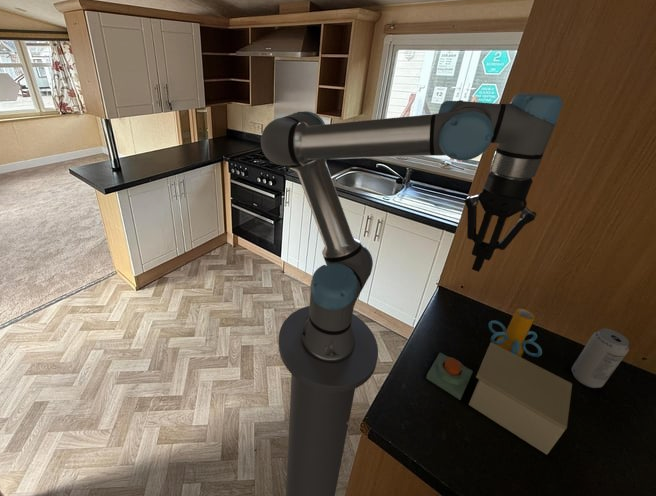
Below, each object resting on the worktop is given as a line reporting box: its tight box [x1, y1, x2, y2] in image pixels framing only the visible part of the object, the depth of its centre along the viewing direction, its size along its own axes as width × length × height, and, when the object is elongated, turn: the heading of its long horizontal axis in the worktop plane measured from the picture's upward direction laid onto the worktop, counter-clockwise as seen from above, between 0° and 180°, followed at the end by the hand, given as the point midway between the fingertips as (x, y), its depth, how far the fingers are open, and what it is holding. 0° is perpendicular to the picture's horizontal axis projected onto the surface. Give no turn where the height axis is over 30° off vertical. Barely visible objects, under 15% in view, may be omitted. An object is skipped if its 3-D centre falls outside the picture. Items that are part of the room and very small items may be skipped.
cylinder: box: [487, 307, 543, 358], centre depth 82 cm, size 12×10×15 cm
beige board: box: [475, 341, 573, 431], centre depth 69 cm, size 15×13×1 cm
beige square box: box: [468, 379, 566, 456], centre depth 71 cm, size 15×13×9 cm
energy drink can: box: [571, 328, 630, 389], centre depth 76 cm, size 6×6×15 cm
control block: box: [425, 352, 473, 401], centre depth 79 cm, size 8×9×4 cm
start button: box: [444, 357, 462, 375], centre depth 78 cm, size 4×4×2 cm
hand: (476, 268), depth 74 cm, fingers closed
